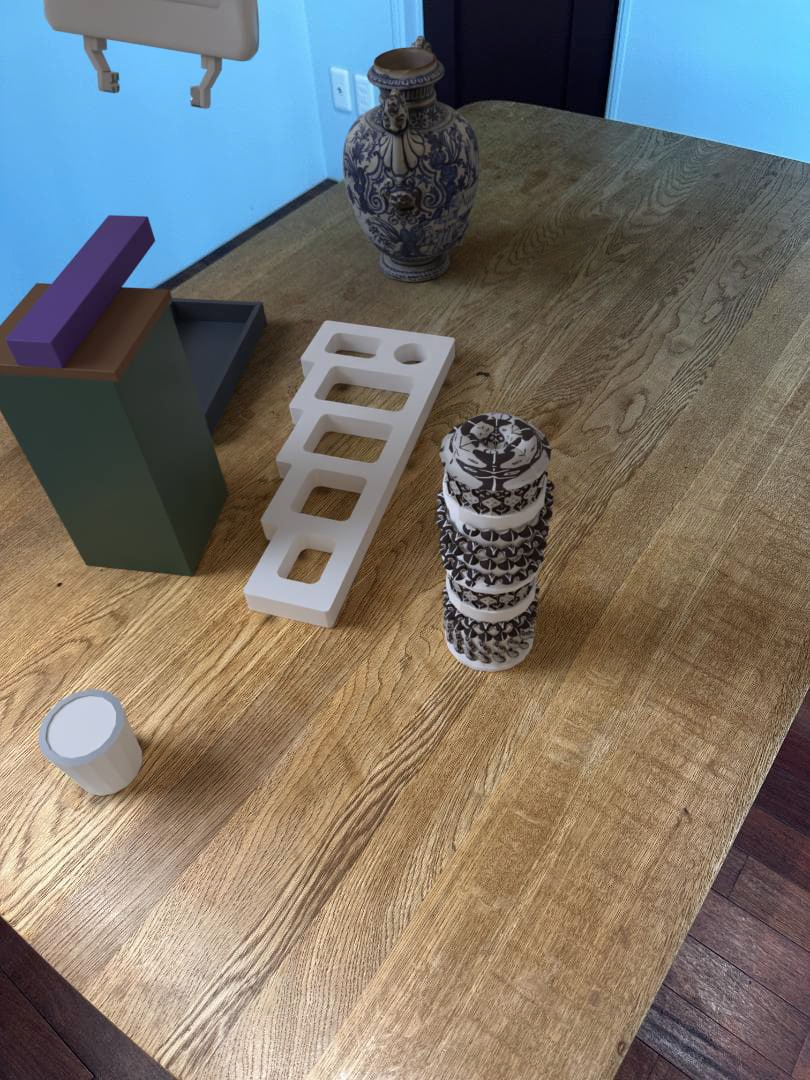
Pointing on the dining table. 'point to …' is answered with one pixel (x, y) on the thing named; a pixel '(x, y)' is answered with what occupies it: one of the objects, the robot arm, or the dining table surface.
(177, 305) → the tray
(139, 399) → the brown-capped green pillar
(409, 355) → the holder
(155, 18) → the robot arm
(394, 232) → the decorative vase
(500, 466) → the decorative candle
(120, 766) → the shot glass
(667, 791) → the dining table surface
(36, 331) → the purple bar
